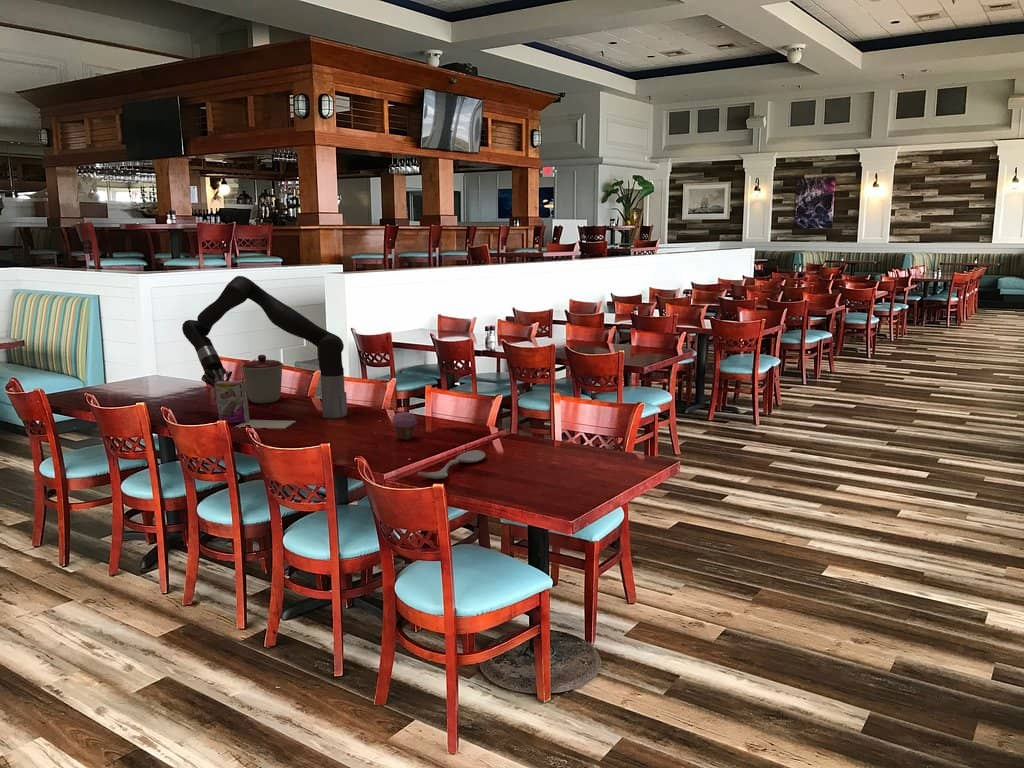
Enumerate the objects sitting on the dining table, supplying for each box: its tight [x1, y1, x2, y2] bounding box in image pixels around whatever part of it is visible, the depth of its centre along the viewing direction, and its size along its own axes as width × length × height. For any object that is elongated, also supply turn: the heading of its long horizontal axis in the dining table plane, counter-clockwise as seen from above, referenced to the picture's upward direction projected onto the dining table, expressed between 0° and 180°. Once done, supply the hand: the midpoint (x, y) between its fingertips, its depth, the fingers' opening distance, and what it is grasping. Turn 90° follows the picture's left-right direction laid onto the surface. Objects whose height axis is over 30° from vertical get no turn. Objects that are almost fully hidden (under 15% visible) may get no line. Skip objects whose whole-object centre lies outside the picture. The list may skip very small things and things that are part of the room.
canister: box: [240, 354, 284, 404], centre depth 365 cm, size 18×18×21 cm
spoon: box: [417, 449, 486, 480], centre depth 261 cm, size 9×32×4 cm, turn 155°
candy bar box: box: [213, 380, 251, 424], centre depth 325 cm, size 11×5×16 cm, turn 84°
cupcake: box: [392, 411, 418, 441], centre depth 299 cm, size 9×9×10 cm
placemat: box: [234, 419, 297, 430], centre depth 323 cm, size 20×12×1 cm, turn 83°
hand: (224, 392), depth 329 cm, fingers closed
